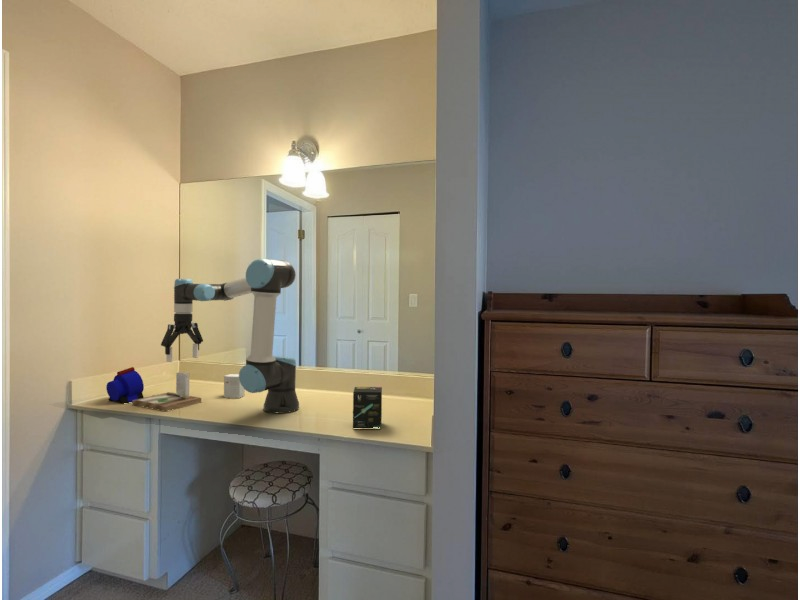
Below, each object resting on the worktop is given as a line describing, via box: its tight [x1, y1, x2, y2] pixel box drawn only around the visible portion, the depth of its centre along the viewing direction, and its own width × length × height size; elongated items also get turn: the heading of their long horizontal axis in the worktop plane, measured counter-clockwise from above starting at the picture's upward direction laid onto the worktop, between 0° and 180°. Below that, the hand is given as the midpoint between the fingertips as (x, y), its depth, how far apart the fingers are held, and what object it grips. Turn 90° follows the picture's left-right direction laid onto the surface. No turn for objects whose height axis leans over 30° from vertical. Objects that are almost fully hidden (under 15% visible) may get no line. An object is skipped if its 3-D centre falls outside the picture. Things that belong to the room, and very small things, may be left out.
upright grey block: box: [166, 371, 190, 398], centre depth 207 cm, size 13×2×11 cm, turn 64°
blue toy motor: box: [106, 366, 145, 405], centre depth 207 cm, size 12×12×15 cm
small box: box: [223, 373, 246, 399], centre depth 219 cm, size 8×6×10 cm
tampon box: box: [352, 386, 383, 429], centre depth 176 cm, size 11×9×15 cm
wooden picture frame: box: [132, 391, 202, 412], centre depth 204 cm, size 22×18×2 cm
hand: (182, 359), depth 205 cm, fingers open, 13 cm apart
